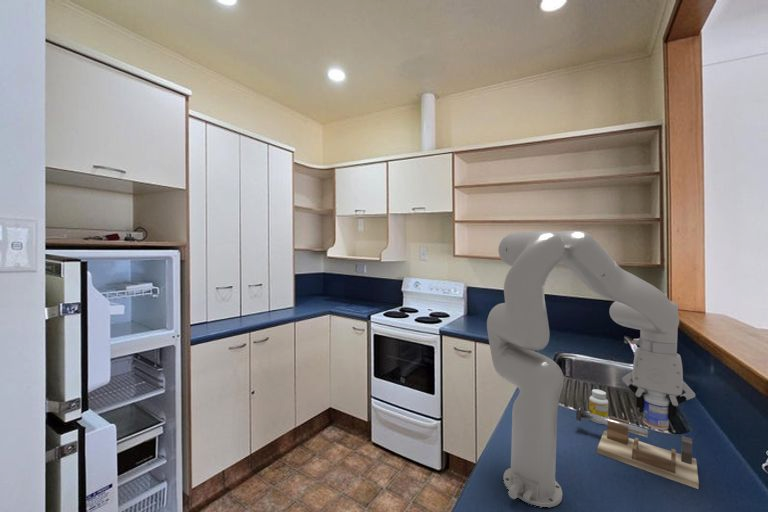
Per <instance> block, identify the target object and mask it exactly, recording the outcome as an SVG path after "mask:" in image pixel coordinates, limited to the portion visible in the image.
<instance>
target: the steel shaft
mask: <svg viewBox="0 0 768 512" xmlns="http://www.w3.org/2000/svg"><path fill="white" fill-rule="evenodd" d="M575 418H576V421H577V422H583V419H586V420H589V421H591V422H593V421H595V422H594V423H596V422H598V423H597V424H599V423H602V424H601V425H605V426H608V420H609V421H612V422H616V423H619V424H623V425H626V426H628V432H629V433H631V434H634V435H638V436H642V437H645V438H649V437H648V435H649V429H647V428H643V427H640V426H637V425H633V424H630V423H629V424H626V423H623V422H620V421H616V420H613V419H609V417H608V418H606V417H602V416H599V415H596V414H592V413H589V411H586V410H585V409H584V406H583V405H577V408H576V415H575Z"/></svg>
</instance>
